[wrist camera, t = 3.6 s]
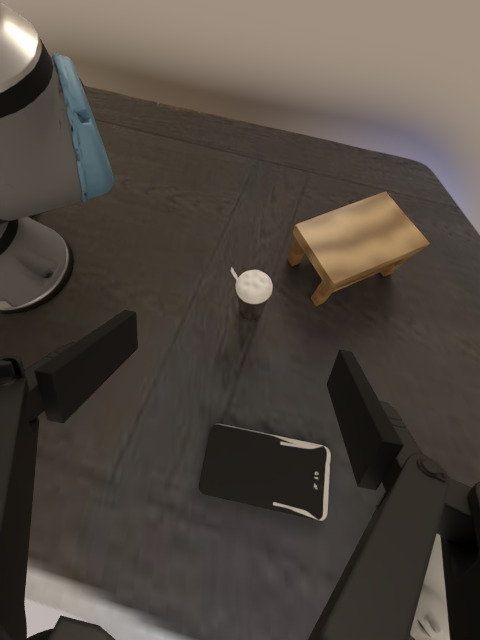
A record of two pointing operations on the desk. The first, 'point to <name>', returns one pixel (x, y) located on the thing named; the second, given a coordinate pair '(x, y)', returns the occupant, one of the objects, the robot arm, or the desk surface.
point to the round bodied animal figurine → (432, 601)
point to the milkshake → (252, 292)
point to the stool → (355, 243)
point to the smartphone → (266, 471)
